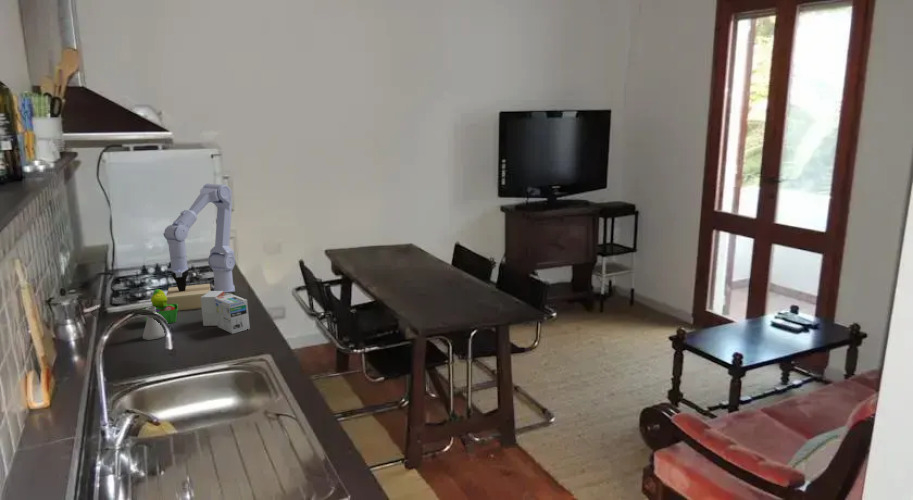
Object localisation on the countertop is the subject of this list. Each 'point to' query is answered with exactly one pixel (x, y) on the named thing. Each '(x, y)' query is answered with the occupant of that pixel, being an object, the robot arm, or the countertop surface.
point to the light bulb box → (232, 313)
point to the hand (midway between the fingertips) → (182, 291)
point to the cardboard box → (186, 302)
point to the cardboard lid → (188, 291)
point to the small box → (210, 307)
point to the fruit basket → (163, 306)
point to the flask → (152, 328)
